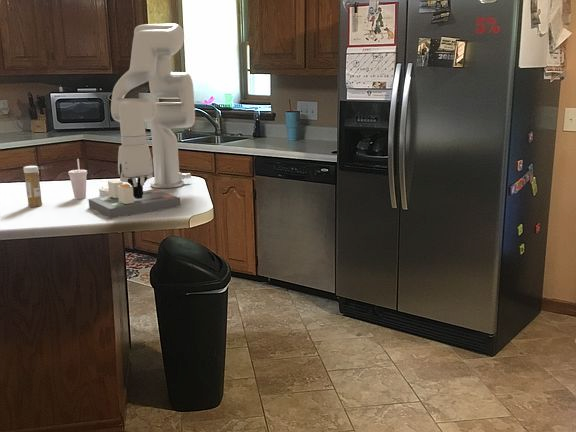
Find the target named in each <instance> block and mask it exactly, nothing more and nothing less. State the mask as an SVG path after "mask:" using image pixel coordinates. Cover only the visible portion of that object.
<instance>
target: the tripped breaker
mask: <svg viewBox="0 0 576 432" xmlns="http://www.w3.org/2000/svg"><path fill="white" fill-rule="evenodd" d="M117 187H118V199H119V202H121V203H124V204H128V203H134V196H133V187H131V186H130V184H129V183H123V184H120V186H117Z"/></svg>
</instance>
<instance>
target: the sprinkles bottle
mask: <svg viewBox="0 0 576 432" xmlns="http://www.w3.org/2000/svg"><path fill="white" fill-rule="evenodd" d="M22 169H23V175H24V179H25V180H24V181H25V189H26V197H27V203H28V204H27V206H28V207H29V208H38V207H41V206H42V205H43V202H42V200H43V199H42V193H41V192H42V191H41V183H40V177H39V171H40V170H39V166H37V165H26V166H23V168H22Z"/></svg>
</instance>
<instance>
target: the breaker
mask: <svg viewBox="0 0 576 432" xmlns="http://www.w3.org/2000/svg"><path fill="white" fill-rule="evenodd" d="M120 184H124V182H122V181H120V180H118V179H113V180H108V181H107V185H108V188H109V196H111V197H113V198H118V187H117V186H120Z"/></svg>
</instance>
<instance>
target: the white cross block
mask: <svg viewBox="0 0 576 432" xmlns="http://www.w3.org/2000/svg"><path fill="white" fill-rule="evenodd" d="M129 185H130V184H129ZM130 186H131V185H130ZM131 187H132V186H131ZM98 190H99V191H98V192H99V197H106V196H109V188H108V184H107V185H102V186H101V187H100V188H99V189H98Z"/></svg>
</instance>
